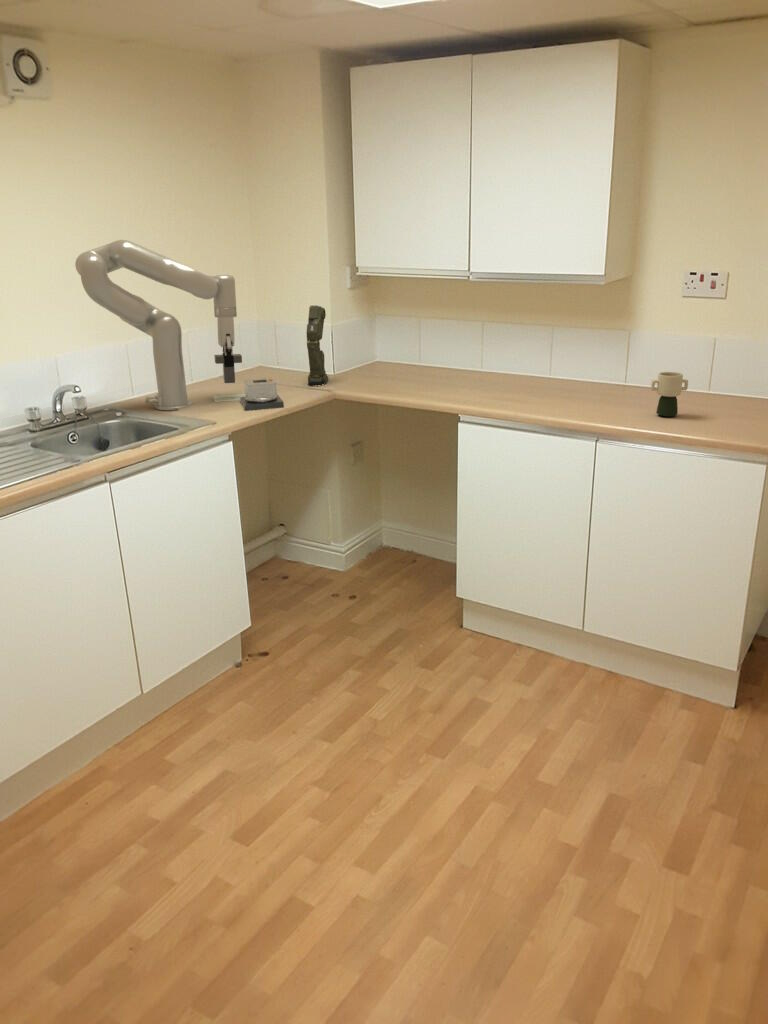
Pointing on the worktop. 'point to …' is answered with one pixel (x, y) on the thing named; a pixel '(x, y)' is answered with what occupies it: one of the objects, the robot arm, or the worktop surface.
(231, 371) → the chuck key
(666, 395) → the character mug
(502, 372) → the worktop surface
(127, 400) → the worktop surface
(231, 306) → the robot arm
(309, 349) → the mechanical leg
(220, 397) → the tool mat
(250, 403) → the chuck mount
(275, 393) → the grey boxy piece
